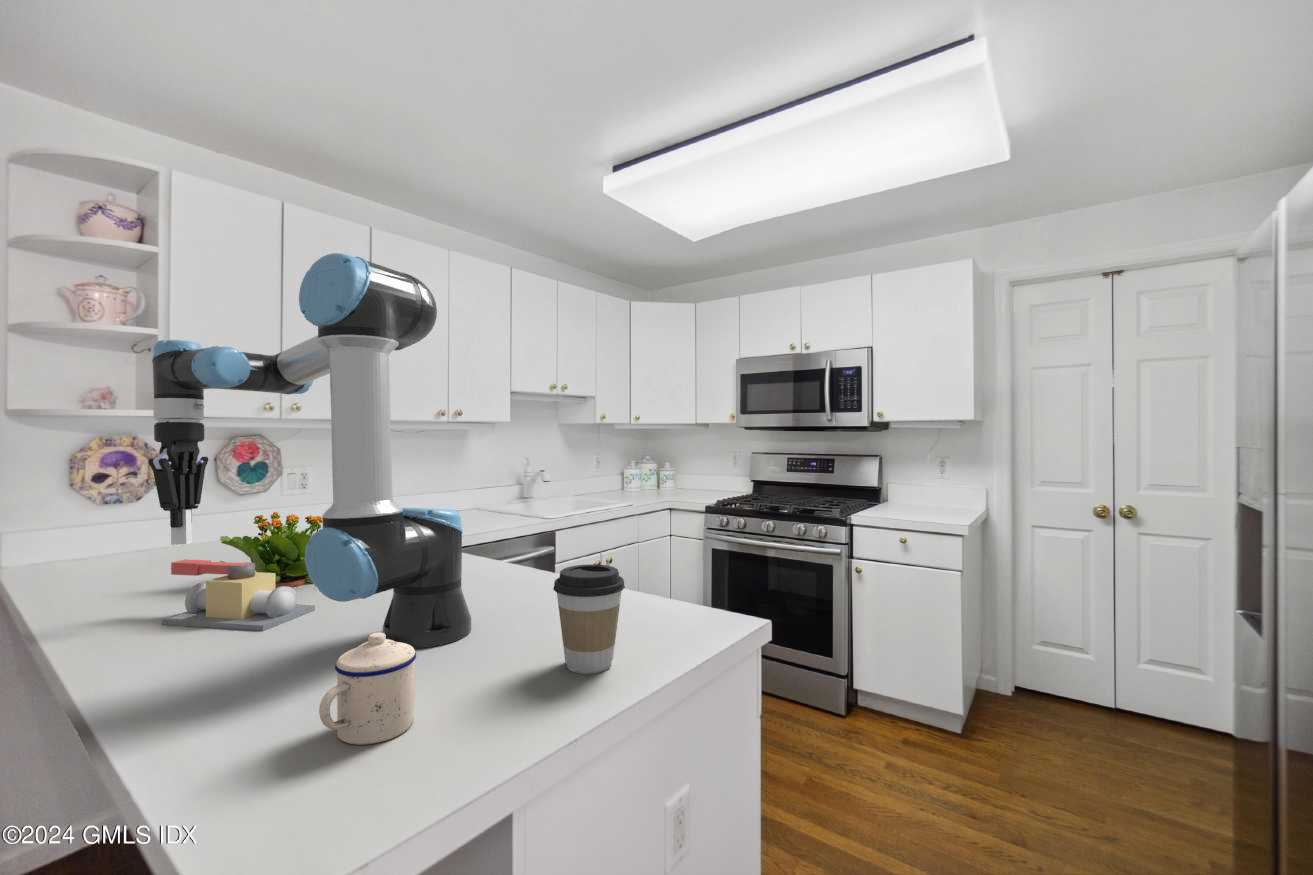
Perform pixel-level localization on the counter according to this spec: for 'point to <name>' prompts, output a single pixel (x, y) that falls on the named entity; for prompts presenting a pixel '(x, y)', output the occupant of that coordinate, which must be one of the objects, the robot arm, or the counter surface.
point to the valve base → (239, 604)
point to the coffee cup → (589, 615)
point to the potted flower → (278, 548)
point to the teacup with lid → (372, 692)
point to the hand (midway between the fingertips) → (181, 543)
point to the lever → (213, 568)
